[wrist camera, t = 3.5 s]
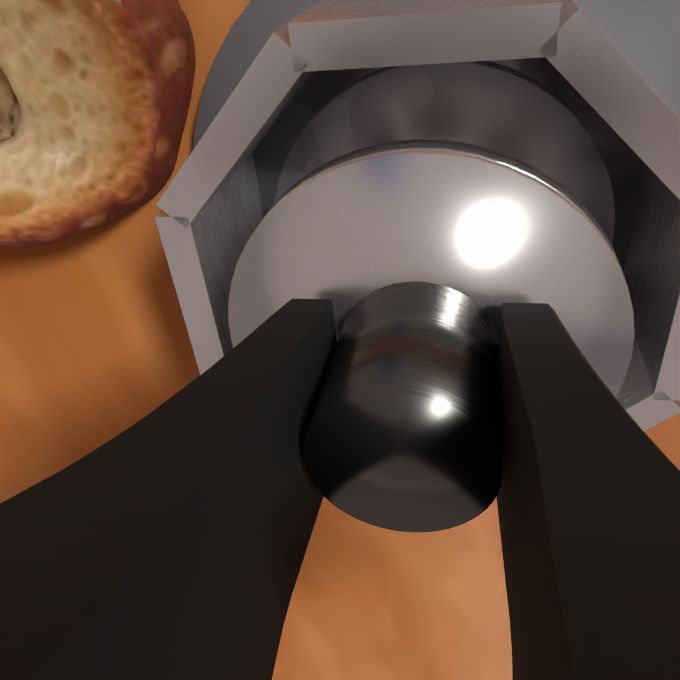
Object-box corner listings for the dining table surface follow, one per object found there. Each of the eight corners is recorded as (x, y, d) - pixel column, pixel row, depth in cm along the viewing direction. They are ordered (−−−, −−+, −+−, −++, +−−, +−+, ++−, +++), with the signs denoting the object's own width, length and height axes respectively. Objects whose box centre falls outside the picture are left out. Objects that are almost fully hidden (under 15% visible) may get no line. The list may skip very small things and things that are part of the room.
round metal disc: (662, 410, 15) (666, 421, 15) (247, 388, 18) (243, 397, 17) (812, -144, 9) (824, -144, 9) (140, -66, 11) (130, -64, 11)
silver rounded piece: (586, 364, 14) (644, 649, 9) (302, 352, 15) (205, 593, 10) (639, 43, 10) (801, 208, 5) (255, 67, 11) (61, 217, 6)
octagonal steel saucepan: (727, 389, 14) (788, 519, 11) (274, 368, 17) (228, 472, 14) (882, -62, 9) (1064, -37, 6) (200, -1, 12) (102, 37, 9)
